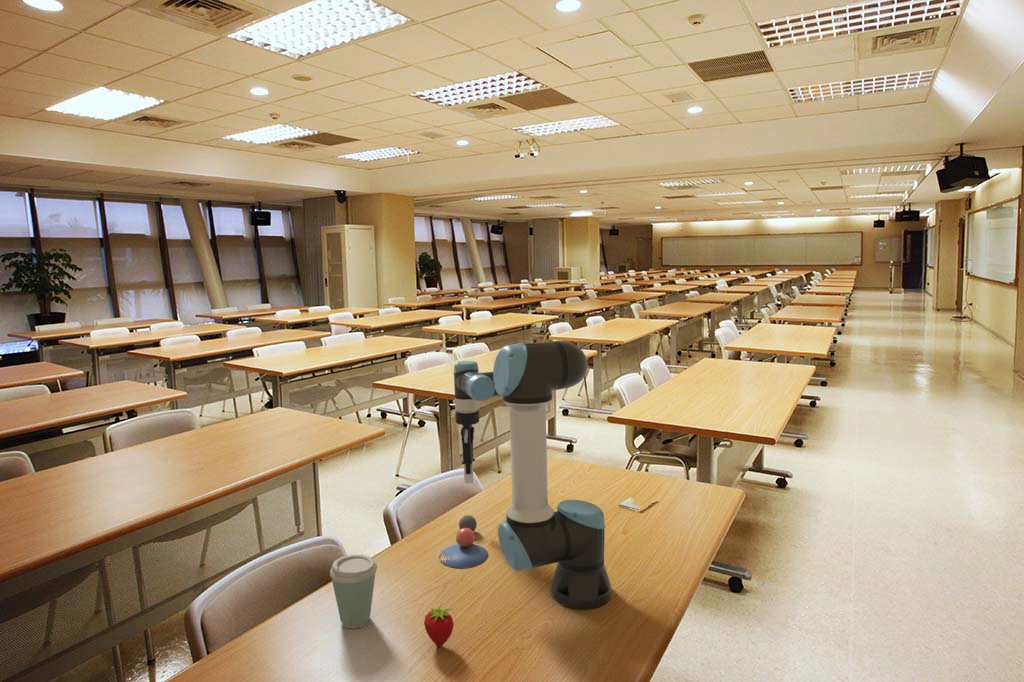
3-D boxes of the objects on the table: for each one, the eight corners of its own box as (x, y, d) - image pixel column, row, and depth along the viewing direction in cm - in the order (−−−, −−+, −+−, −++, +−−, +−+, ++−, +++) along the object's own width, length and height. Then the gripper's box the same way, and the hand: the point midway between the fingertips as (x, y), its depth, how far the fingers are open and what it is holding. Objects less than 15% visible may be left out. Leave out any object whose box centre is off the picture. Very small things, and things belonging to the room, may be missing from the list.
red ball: (475, 546, 174) (473, 548, 169) (457, 546, 174) (454, 548, 169) (475, 527, 176) (473, 528, 170) (457, 527, 176) (455, 528, 170)
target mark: (486, 568, 160) (486, 567, 160) (435, 568, 160) (435, 567, 160) (489, 544, 174) (489, 543, 174) (442, 544, 174) (442, 543, 174)
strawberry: (441, 632, 132) (440, 591, 131) (460, 648, 126) (459, 606, 125) (419, 643, 128) (417, 601, 127) (437, 660, 123) (435, 616, 121)
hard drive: (639, 510, 194) (657, 498, 203) (618, 504, 199) (636, 492, 208) (639, 515, 194) (657, 503, 203) (618, 508, 199) (636, 497, 209)
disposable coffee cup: (361, 602, 144) (358, 546, 142) (389, 619, 137) (386, 559, 136) (323, 623, 136) (320, 563, 134) (351, 641, 129) (347, 578, 127)
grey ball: (477, 517, 185) (477, 534, 182) (460, 517, 185) (459, 535, 182) (475, 513, 180) (475, 531, 177) (458, 513, 180) (457, 532, 177)
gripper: (457, 405, 188) (459, 475, 191) (452, 415, 176) (454, 490, 179) (480, 405, 188) (482, 475, 191) (477, 415, 175) (479, 490, 178)
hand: (469, 482), depth 185 cm, fingers closed
